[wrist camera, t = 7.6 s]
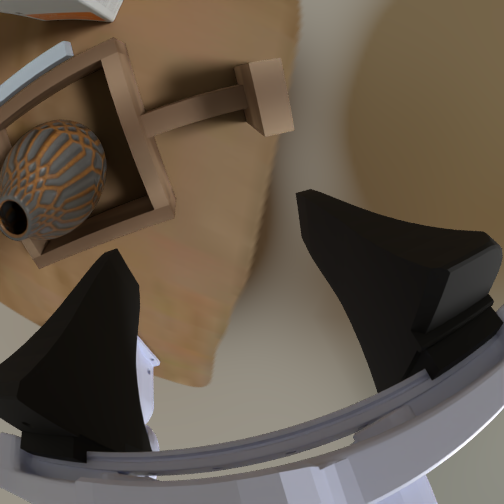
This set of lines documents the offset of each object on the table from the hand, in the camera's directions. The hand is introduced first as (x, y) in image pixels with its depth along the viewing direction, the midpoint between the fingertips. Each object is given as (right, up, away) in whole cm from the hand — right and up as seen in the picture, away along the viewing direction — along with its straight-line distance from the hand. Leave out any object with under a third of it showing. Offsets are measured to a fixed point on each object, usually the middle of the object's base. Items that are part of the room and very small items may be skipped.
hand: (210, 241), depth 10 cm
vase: (-11, +6, +5) cm, 14 cm away
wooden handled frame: (-7, +8, +5) cm, 12 cm away
